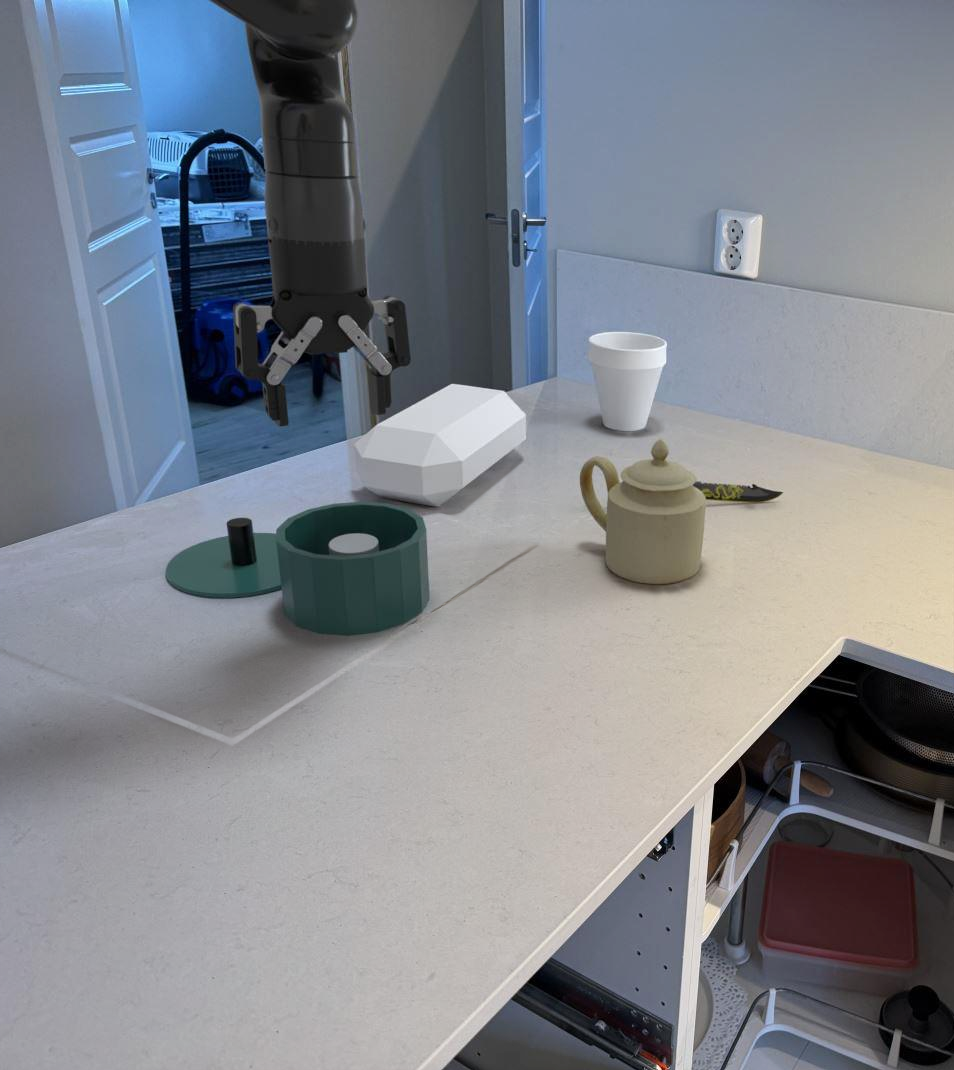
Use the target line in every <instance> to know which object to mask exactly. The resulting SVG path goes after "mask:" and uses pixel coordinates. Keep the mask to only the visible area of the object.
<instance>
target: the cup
mask: <svg viewBox="0 0 954 1070" xmlns="http://www.w3.org/2000/svg"><path fill="white" fill-rule="evenodd" d="M588 342H589V344H588V346H589V347H588V353H587V354H588V355H587V359H588V360H589V362H590V365H591V369H592V374H593V379H594V384H595V388H596V389H595V390H596V394H597V399H598V403H599V408H600V414H601V419H602V423H603V426H604V427H606V428H608V429H610V430H614V431H617V432H618V431H620V432H637V431H641V430H643V429H645V428H646V426H647V425H648V424H647V423H648V420H649V417H650V413H651V410H652V406H653V403H654V400H655V396H656V392H657V389H658V386H659V382H660V379H661V375H662V372H663V368H664V367H665V365H666V364H667V347H668V342H667V341H666V340H665V339H663V338H661V337H659V336H656V335H652V334H647V333H641V332H633V331H610V332H609V331H607V332H606V331H605V332H599V333H596V334H593V335H591V336H590V337H589V338H588Z"/></svg>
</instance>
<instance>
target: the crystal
mask: <svg viewBox="0 0 954 1070" xmlns="http://www.w3.org/2000/svg"><path fill="white" fill-rule="evenodd" d="M526 439H527V415H526V413H525V412H524V411H523V410H522V409H521V408H520V407H519V406H518V405H517V403H516V402H515V401H514V400H513V399H512V398H511V397H510V396H509V395H508V393H506V391H505V390H500V389H493V388H488V387H487V388H484V387H479V386H472V385H465V384H457V383H451V384H448V385H447V386H445V387H444V388H441V389H439V390H438V391H436V392H434V393H432V394H430V395H429V396H427V397H425V398H423V399H421V400H419V401H418V402H415V403H414V404H412V405H411V406H409V407H407V408H404V409H403V410H401V411H399V412H398V413H395V414H394V415H392V416H390V417H388V418H387V419H385V420H383V421H381V422H379V423H377V424H376V425H375V426H374V427H372V428H371V429H370V430H368V432H367V433H365V434H364V435H363V436H362V437H361V438H359V440H357V441H356V442H355V443H354V444H353V449H354V461H355V463H354V464H355V471H356V474H357V476H358V478H359V480H360V482H361V483H362V485H363V487H365V488H366V489H368V490H369V491H370V492H372V493H374V494H375V495H377V496H378V497H379V498H383V499H385V500H386V499H387V500H393V501H398V502H405V503H411V504H418V505H424V506H429V507H436V508H439V507H441V506H442V505H443V504H444V503H445V502H447V501H449V500H450V499H451V498H452V497H453V496H455V495H457V493H458V492H460V491H461V490H462V489H464V488H465V487H466V486H468V485H469V484H470V483H472V482H473V481H474V480H476V479H477V478H478V477H479V476H480V475H482V474H483V473H485V472H486V471H487V470H489V469H490V468H491V467H492V466H494V465H495V464H496V463H498V462H499V461H500V460H501V459H502V458H504V457H505V456H507V455H508V454H509V453H510V452H511V451H513V450H514V449H515V448H517V447H518V446H519V445H521V444H522V443H523V442H525V441H526Z"/></svg>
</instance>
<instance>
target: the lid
mask: <svg viewBox="0 0 954 1070" xmlns="http://www.w3.org/2000/svg"><path fill="white" fill-rule="evenodd" d="M226 531H227V535H225V536H219V537H216V538H211V539H208V540H204V541H202V542H199V543H196V544H193V545H191V546H189V547H187V548H185V549H183V550H182V551H180V552H179V553H177V554H175V555H174V556H173V557H172V558H171V559H170V560H169V562H168V563H167V565H166V567H165V575H166V579H167V581H168V582H169V584H170V586H172V587H173V588H175V589H177V590H178V591H180V592H184V593H185V594H190V595H193V596H198V597H203V598H217V599H231V598H246V597H253V596H259V595H265V594H269V593H273V592H275V591H280V590H282V588H281V579H280V570H279V562H278V553H277V544H276V532H275V533H274V532H272V533H271V532H254V525H253V520H252V518H249V517H235V518H231V519H229V520H228V521H226Z"/></svg>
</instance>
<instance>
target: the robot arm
mask: <svg viewBox="0 0 954 1070" xmlns="http://www.w3.org/2000/svg"><path fill="white" fill-rule="evenodd" d="M208 1H209V2H211V3H212V4H214V5H216V6H217V7H219V8H220V9H222V10H224V11H225V12H227V13H228V14H230V15H232V16H233V17H234V18H236V19H238V20H240V21H241V22H243V23H244V31H245V36H246V43H247V48H248V53H249V54H248V55H249V59H250V63H251V68H252V73H253V78H254V82H255V86H256V90H257V95H258V99H259V106H260V128H261V144H262V155H263V164H264V170H265V172H264V177H265V178H264V180H265V181H264V211H265V222H266V231H267V241H268V243H267V244H268V253H269V264H270V274H271V283H272V284H271V285H272V299H271V302H270V303H269V305H249V304H246V302H243V301H239V302H236V303H235V304H234V305H233V306H232V316H233V317H232V318H233V319H232V320H233V338H234V340H233V341H234V353H235V354H234V359H235V362H234V363H235V369H236V371H238V373H240V374H241V376H243V377H244V378H245V379H246V380H248V381H257V382H261V385H262V393H263V403H264V412H265V414H266V415H267V417H268V418H269V419H270V420H271V421H272V422H273V421H274V423H275V424H276V425H277V426H278V427H280V428H281V427H288V426H289V414H288V413H289V412H288V403H287V391H286V385H285V384H284V383H283V382H282V381H283V379H284V378H285V377H286V375H287V373H288V372H289V371H290V369H291V367H293V366H295V365H296V364H297V363H298V361H299V360H300V359H301V356H302V355H303V354H304V353H306V354H309V355H310V356H315V355H323V354H326V353H329V352H332V353H335V354H336V353H337V354H340V353H341V354H342V353H343V354H345V353H348V351H349V350H351V349H352V348H353V349H354V350H355V351H356V353H358V354H359V356H360V357H361V358H362V359H363V360H364V361H365V362H366V363H367V364H368V366H369V367H370V370H367V376H368V377H367V378H368V393H369V394H368V396H369V408H370V410H371V412H372V413H374V414H375V415H376V416H381V415H382V416H383V415H386V414H387V409H389V408H390V407H391V405H392V385H391V383H392V382H391V375H392V372H394V370H396V369H398V368H401V367H408V366H409V365H410V363H411V361H412V359H411V349H410V339H409V328H408V320H407V309H406V303H404V302H403V301H402V300H400V299H398V298H397V297H394V296H392V295H391V294H390V295H385V296H384V297H383V298H382V299H377V300H376V299H375V300H371V299H370V297H369V294H368V277H367V276H368V275H367V273H368V272H367V258H366V242H365V231H366V220H365V218H364V209H363V208H364V207H363V200H362V195H361V190H360V189H361V188H360V185H359V184H360V183H359V177H358V174H359V173H358V157H357V156H358V155H357V141H356V140H357V139H356V130H355V129H356V128H355V123H354V118H353V114H352V112H351V108H350V107H349V105H348V104H347V102H346V101H345V99H344V97H343V93H342V85H341V84H342V83H341V82H342V81H341V74H340V64H339V54H340V53H341V52H342V51H343V50H345V49H346V48H347V47H348V46H349V45H350V43H351V42H352V41H353V38H354V36H355V34H356V31H357V27H358V8H357V4H356V0H208ZM374 314H376V316H377V319H378V321H379V322H381V323H382V324H384V332H385V339H386V348H387V351H386V352H385V353H381V352H380V351H379V349H378V348H377V346H376V345H375V344H374V343H373V342H372V340H371V339H370V338H369V337H368V335H366V334H365V332H364V331H365V330H366V328H367V327H368V326H369V324H370V322H371V320H372V319H373V317H374ZM269 320H271V321H272V322H273V323H274V324H275V325H276V326H277V328H278V329H279V330H280V331H281V332H280V334H279V335H278V336H277V338H276V339H275V341H274V343H273V344H272V345H271V347H270V352H269V353H268V355H267V357H266V358H265V360H264V361H263V362H262V363H259V348H258V347H259V346H258V345H259V344H258V333H261V332H263V331H264V330H265V326H266V323H267V322H268V321H269Z"/></svg>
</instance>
